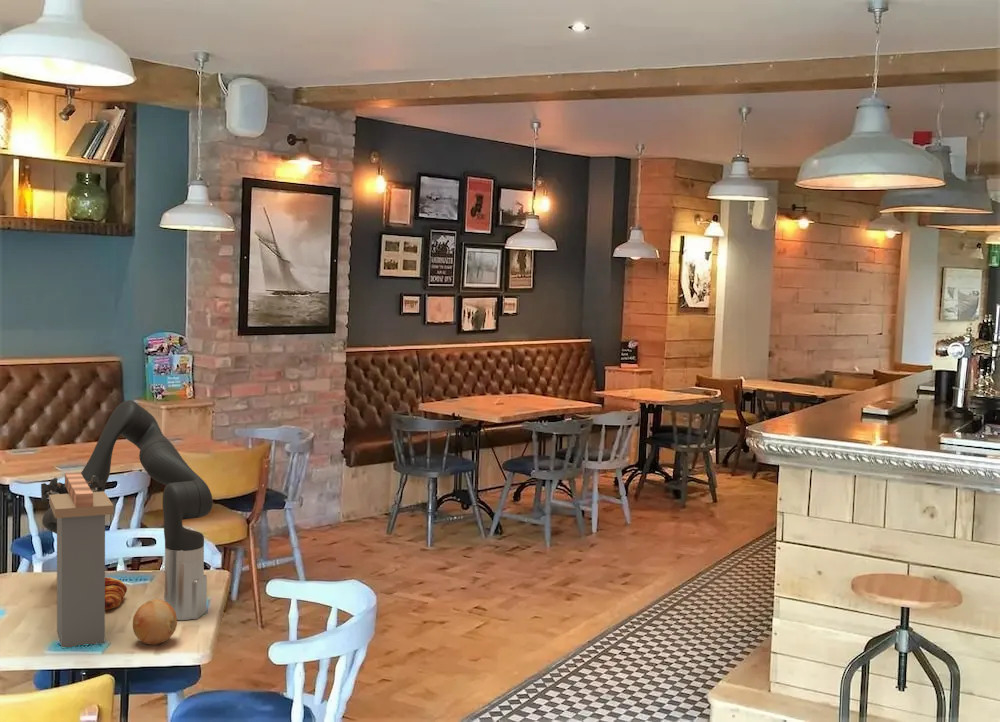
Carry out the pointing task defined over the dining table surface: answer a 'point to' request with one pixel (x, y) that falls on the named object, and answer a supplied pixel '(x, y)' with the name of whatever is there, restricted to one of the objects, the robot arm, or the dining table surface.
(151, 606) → the onion
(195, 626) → the dining table surface
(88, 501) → the batten
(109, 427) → the robot arm
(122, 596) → the croissant
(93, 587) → the stand
